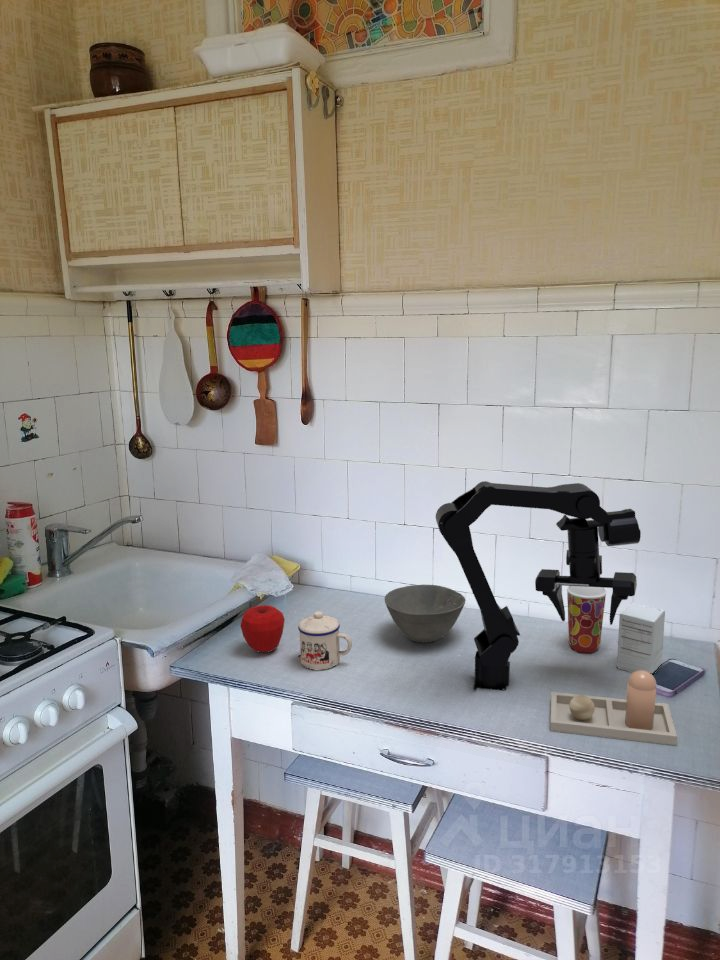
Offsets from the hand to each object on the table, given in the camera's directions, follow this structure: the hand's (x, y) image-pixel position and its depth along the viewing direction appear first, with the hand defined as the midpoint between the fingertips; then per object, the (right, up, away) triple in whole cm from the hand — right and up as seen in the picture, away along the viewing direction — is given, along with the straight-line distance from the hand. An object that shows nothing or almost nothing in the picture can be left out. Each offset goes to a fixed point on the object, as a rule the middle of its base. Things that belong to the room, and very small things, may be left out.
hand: (587, 622), depth 145 cm
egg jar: (+5, -16, -14) cm, 22 cm away
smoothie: (+5, -10, +18) cm, 21 cm away
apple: (-68, -11, +21) cm, 72 cm away
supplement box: (+14, -11, +9) cm, 20 cm away
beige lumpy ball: (-5, -16, -11) cm, 20 cm away
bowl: (-30, -9, +26) cm, 41 cm away
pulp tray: (0, -16, -12) cm, 20 cm away
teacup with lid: (-53, -12, +14) cm, 56 cm away
